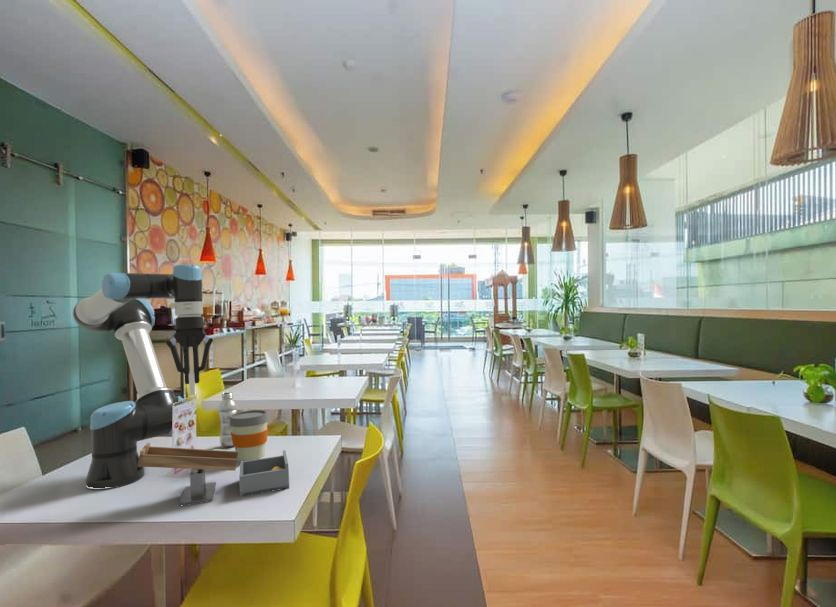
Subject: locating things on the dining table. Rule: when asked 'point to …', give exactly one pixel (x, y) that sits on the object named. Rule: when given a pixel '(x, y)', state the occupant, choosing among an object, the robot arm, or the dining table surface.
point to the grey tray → (263, 475)
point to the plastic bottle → (226, 418)
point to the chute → (187, 458)
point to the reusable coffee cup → (249, 434)
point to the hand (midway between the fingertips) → (192, 394)
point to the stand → (198, 489)
